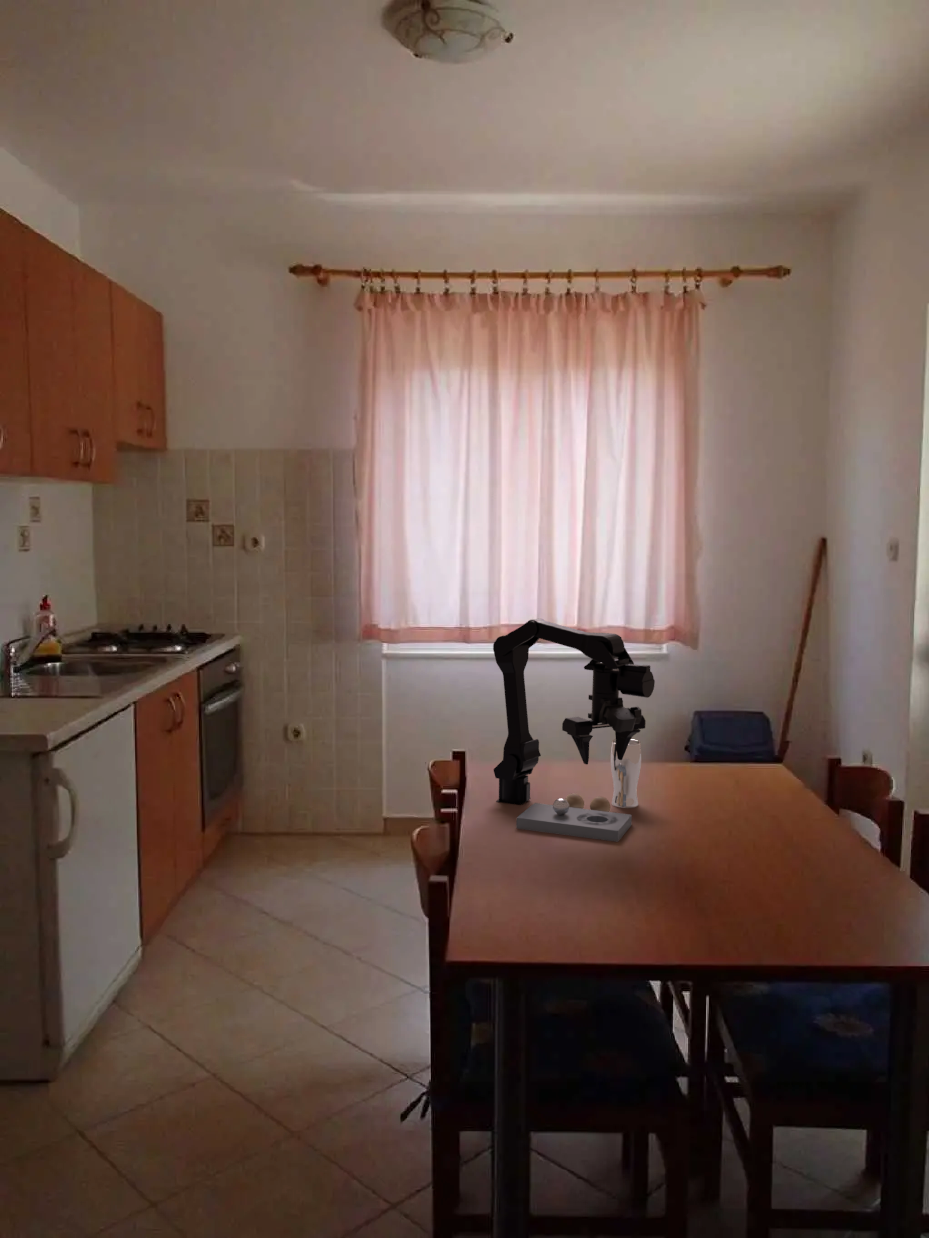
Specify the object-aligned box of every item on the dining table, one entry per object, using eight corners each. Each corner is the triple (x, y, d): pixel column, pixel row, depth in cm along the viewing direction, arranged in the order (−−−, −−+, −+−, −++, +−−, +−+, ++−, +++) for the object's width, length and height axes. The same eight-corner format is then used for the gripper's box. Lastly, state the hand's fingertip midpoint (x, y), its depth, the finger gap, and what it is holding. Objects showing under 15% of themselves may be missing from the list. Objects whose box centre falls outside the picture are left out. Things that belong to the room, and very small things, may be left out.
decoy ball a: (561, 814, 209) (561, 795, 209) (567, 809, 213) (567, 790, 213) (580, 817, 208) (581, 797, 207) (586, 811, 212) (586, 792, 211)
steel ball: (550, 815, 200) (550, 799, 200) (555, 811, 203) (555, 795, 203) (566, 817, 199) (566, 801, 199) (571, 813, 202) (571, 797, 202)
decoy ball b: (587, 817, 207) (587, 798, 207) (592, 812, 211) (593, 792, 211) (607, 820, 205) (607, 800, 205) (612, 814, 209) (612, 795, 209)
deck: (516, 829, 199) (516, 817, 199) (534, 813, 210) (534, 802, 210) (618, 842, 190) (618, 830, 190) (631, 825, 201) (631, 814, 201)
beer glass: (642, 809, 214) (643, 745, 212) (611, 809, 214) (613, 744, 212) (637, 800, 221) (638, 738, 219) (607, 800, 221) (609, 738, 219)
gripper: (592, 701, 192) (589, 775, 194) (663, 695, 201) (660, 766, 202) (561, 692, 202) (559, 763, 203) (630, 686, 211) (628, 754, 212)
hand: (603, 761), depth 205 cm, fingers open, 9 cm apart
